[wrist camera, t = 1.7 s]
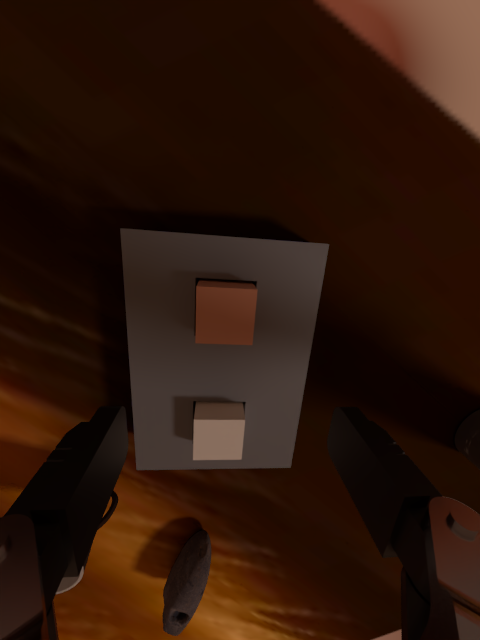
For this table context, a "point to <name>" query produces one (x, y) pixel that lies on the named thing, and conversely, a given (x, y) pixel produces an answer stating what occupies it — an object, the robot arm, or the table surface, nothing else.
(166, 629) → the perforated stone tool
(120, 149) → the table surface
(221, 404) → the offwhite key
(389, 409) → the table surface
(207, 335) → the terracotta key
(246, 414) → the key panel
